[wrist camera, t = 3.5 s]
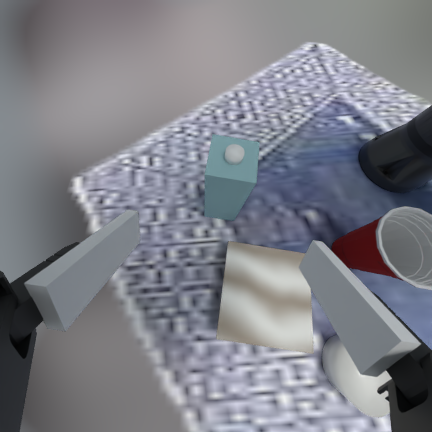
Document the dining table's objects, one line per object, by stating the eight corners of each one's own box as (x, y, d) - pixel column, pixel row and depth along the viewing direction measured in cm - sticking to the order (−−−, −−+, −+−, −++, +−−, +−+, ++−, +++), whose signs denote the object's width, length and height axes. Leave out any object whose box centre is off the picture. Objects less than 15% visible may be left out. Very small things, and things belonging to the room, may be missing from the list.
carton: (209, 190, 34) (213, 127, 19) (236, 194, 34) (262, 136, 19) (204, 216, 32) (204, 169, 17) (233, 221, 32) (259, 178, 17)
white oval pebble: (319, 330, 27) (338, 340, 23) (364, 337, 27) (390, 348, 24) (323, 391, 25) (344, 413, 21) (373, 398, 25) (403, 421, 21)
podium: (225, 244, 31) (228, 241, 27) (296, 256, 31) (309, 254, 27) (214, 328, 26) (216, 339, 22) (297, 341, 26) (313, 353, 23)
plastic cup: (314, 270, 30) (381, 271, 19) (322, 220, 34) (381, 195, 22) (370, 291, 30) (473, 305, 18) (372, 238, 33) (459, 222, 22)
